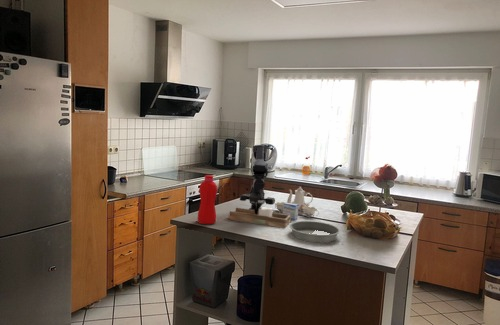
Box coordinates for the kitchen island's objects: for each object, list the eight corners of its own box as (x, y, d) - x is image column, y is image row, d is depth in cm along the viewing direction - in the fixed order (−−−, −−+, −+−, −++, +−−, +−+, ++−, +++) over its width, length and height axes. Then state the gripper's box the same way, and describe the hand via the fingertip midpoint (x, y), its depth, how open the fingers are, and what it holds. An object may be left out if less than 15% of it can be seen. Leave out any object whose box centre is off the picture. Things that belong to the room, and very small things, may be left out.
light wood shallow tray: (236, 213, 226) (237, 207, 225) (290, 221, 216) (291, 214, 216) (228, 219, 213) (228, 212, 212) (285, 227, 203) (285, 220, 202)
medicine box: (282, 218, 223) (283, 203, 222) (285, 216, 227) (286, 202, 226) (295, 220, 219) (296, 205, 218) (297, 218, 223) (299, 204, 222)
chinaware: (270, 215, 235) (272, 188, 231) (278, 207, 250) (279, 182, 247) (316, 222, 226) (318, 194, 222) (321, 213, 241) (323, 187, 237)
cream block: (261, 215, 217) (262, 207, 216) (271, 217, 215) (272, 208, 214) (258, 218, 211) (258, 209, 210) (268, 219, 209) (269, 210, 208)
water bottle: (213, 219, 211) (216, 173, 208) (216, 224, 200) (219, 177, 197) (196, 219, 209) (199, 173, 206) (198, 224, 198) (200, 176, 195)
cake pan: (305, 226, 209) (306, 218, 209) (347, 237, 194) (348, 228, 194) (279, 235, 190) (279, 226, 190) (323, 248, 175) (324, 238, 175)
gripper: (237, 186, 208) (235, 215, 210) (270, 191, 202) (268, 220, 204) (244, 183, 219) (242, 211, 220) (276, 187, 213) (274, 215, 215)
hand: (256, 214), depth 215 cm, fingers closed
